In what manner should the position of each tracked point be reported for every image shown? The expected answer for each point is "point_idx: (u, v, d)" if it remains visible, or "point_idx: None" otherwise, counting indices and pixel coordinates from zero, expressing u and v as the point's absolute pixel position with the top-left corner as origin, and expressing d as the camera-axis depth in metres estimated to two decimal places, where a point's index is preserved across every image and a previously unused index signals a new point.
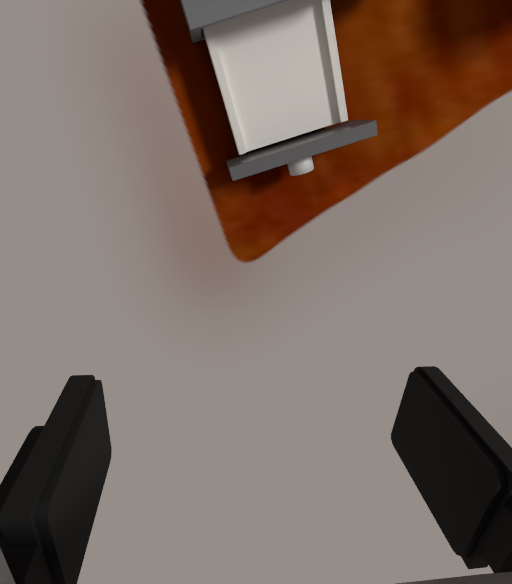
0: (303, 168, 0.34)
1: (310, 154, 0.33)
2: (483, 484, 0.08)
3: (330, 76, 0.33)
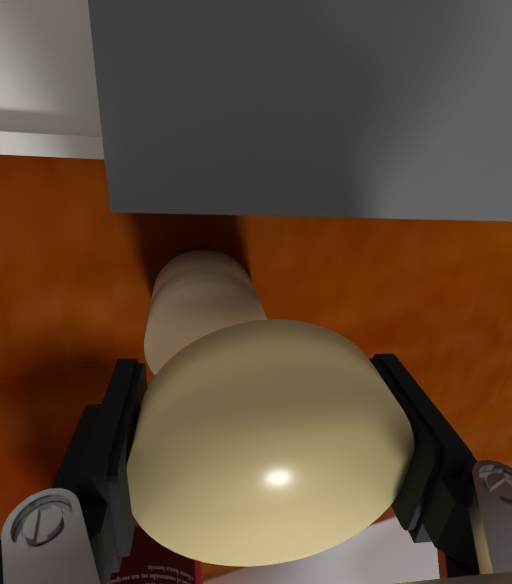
0: None
1: None
2: (424, 460, 0.09)
3: None
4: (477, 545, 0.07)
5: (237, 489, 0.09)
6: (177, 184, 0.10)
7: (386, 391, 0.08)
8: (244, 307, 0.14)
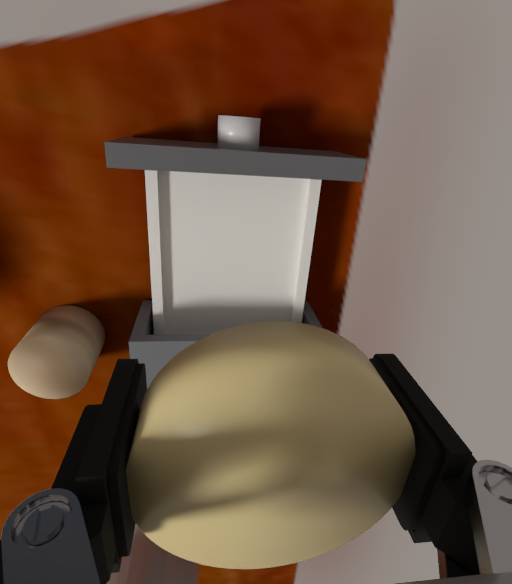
0: (241, 127, 0.20)
1: (231, 153, 0.19)
2: (423, 460, 0.09)
3: (162, 233, 0.24)
4: (477, 545, 0.07)
5: (237, 492, 0.09)
6: None
7: (387, 393, 0.08)
8: (78, 384, 0.25)
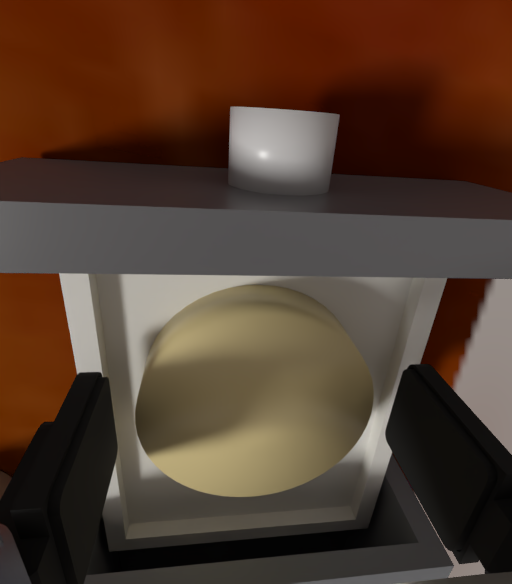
0: (297, 139, 0.07)
1: (274, 219, 0.06)
2: (473, 479, 0.08)
3: (110, 358, 0.11)
4: None
5: (227, 424, 0.11)
6: None
7: (347, 340, 0.10)
8: None
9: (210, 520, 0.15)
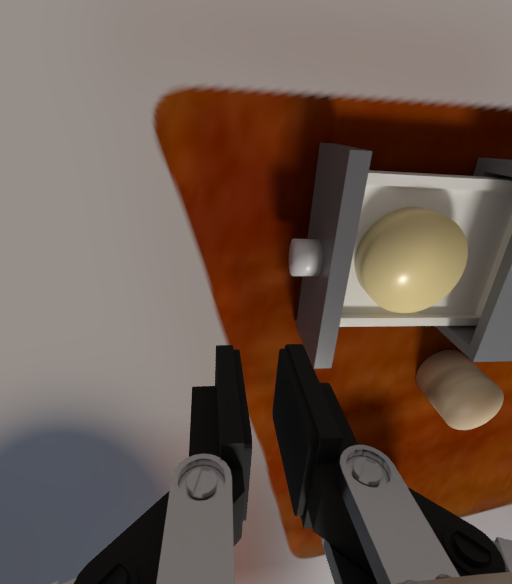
0: (305, 263, 0.22)
1: (330, 282, 0.22)
2: (304, 446, 0.09)
3: (377, 312, 0.27)
4: (365, 547, 0.07)
5: (415, 279, 0.24)
6: (501, 351, 0.26)
7: (384, 231, 0.23)
8: (495, 390, 0.29)
9: (490, 276, 0.27)
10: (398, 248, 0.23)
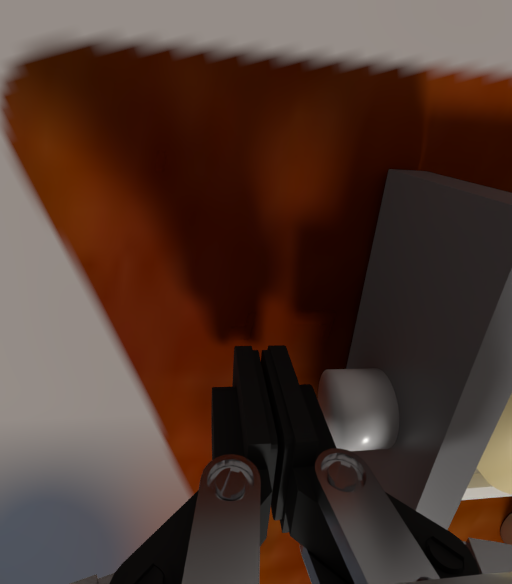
0: (360, 437, 0.10)
1: (425, 499, 0.09)
2: (280, 449, 0.09)
3: (474, 472, 0.15)
4: (344, 555, 0.07)
5: None
6: None
7: None
8: None
9: None
10: None
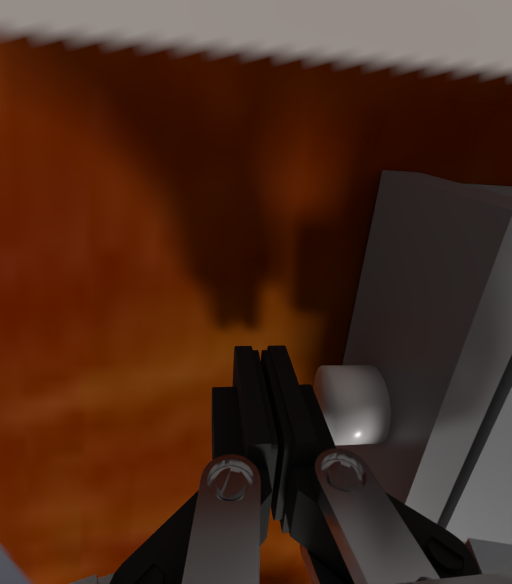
0: (353, 431, 0.10)
1: (414, 491, 0.09)
2: (280, 449, 0.09)
3: None
4: (344, 555, 0.07)
5: None
6: None
7: None
8: None
9: None
10: None
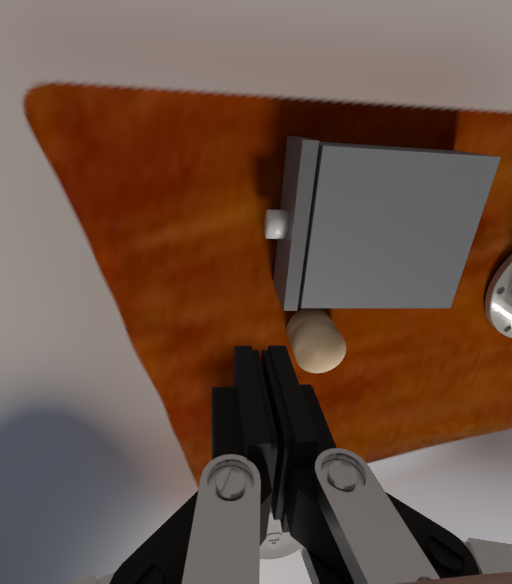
0: (275, 227, 0.30)
1: (293, 240, 0.29)
2: (280, 449, 0.09)
3: None
4: (344, 555, 0.07)
5: None
6: (323, 299, 0.31)
7: None
8: (336, 337, 0.35)
9: None
10: None
